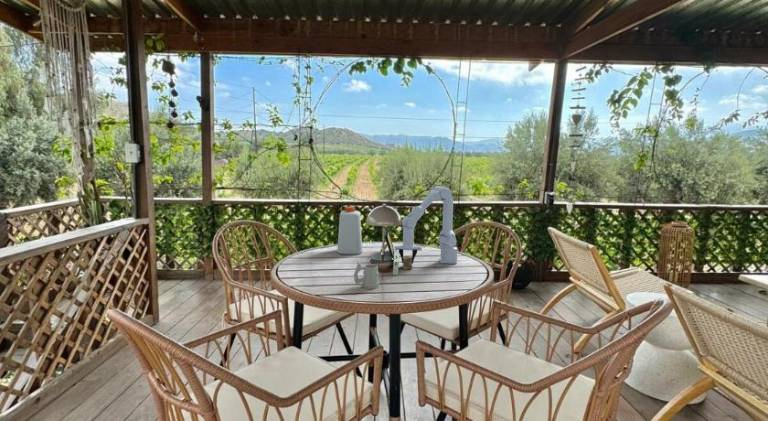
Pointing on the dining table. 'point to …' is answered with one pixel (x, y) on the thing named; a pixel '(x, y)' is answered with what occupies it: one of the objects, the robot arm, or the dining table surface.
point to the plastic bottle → (349, 232)
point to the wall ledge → (395, 264)
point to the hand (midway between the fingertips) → (407, 263)
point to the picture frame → (388, 243)
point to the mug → (367, 276)
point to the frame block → (407, 262)
